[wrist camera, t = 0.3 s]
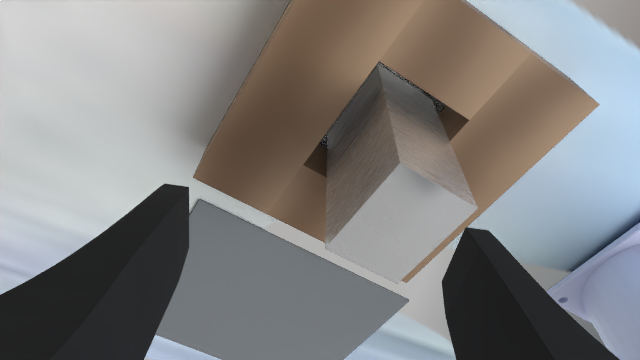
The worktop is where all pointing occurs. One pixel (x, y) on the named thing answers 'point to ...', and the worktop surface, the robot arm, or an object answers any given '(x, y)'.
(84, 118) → the worktop surface
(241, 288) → the mat
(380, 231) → the steel peg
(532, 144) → the block
